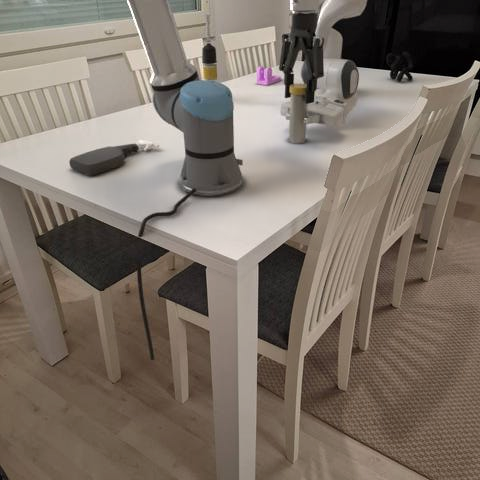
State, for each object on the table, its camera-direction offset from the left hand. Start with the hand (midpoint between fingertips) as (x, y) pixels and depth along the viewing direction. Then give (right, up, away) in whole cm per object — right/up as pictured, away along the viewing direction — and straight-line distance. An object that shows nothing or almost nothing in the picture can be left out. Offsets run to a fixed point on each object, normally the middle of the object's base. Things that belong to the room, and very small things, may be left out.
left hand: (299, 99), depth 129 cm
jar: (0, -10, +7) cm, 12 cm away
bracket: (-3, +31, +73) cm, 79 cm away
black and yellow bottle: (-29, +16, +50) cm, 60 cm away
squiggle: (+55, +31, +71) cm, 95 cm away
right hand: (0, -5, +2) cm, 6 cm away
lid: (0, +3, -2) cm, 4 cm away
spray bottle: (-51, -18, -4) cm, 55 cm away
